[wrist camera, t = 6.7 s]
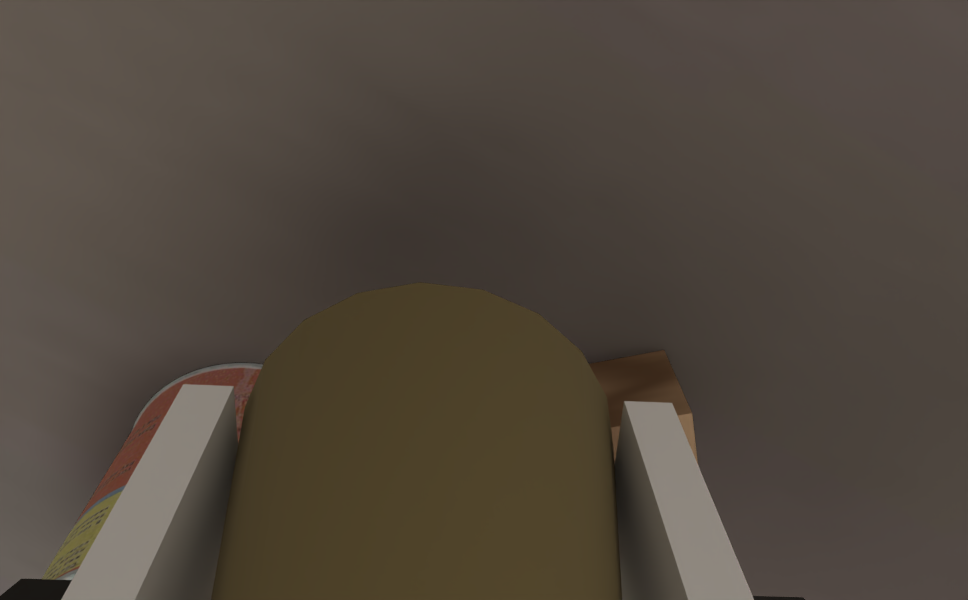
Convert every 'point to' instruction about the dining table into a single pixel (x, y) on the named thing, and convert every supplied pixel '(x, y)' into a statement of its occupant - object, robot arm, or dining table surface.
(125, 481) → the canned food
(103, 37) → the dining table surface
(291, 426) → the cork
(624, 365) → the walnut cube
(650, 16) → the dining table surface
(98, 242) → the dining table surface
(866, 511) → the dining table surface
